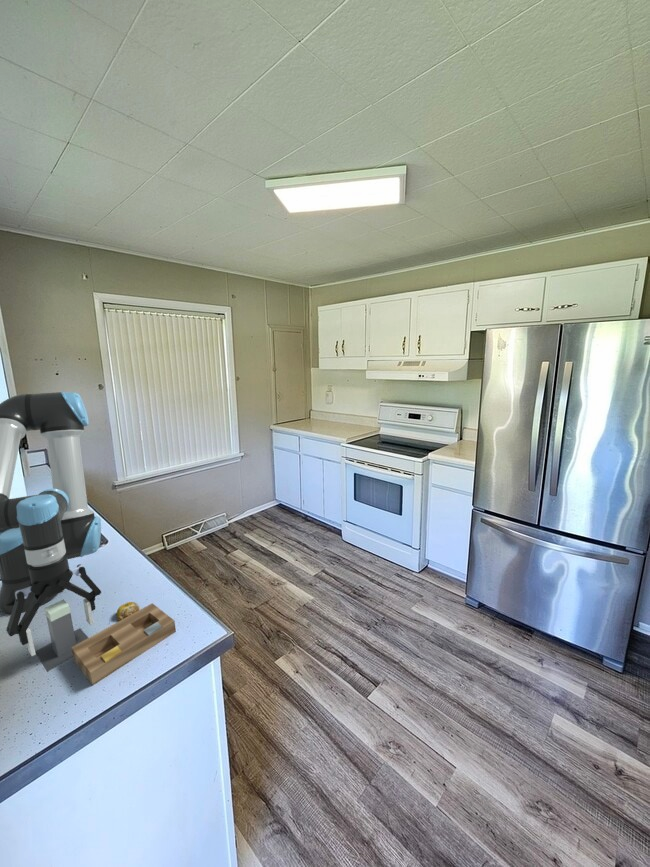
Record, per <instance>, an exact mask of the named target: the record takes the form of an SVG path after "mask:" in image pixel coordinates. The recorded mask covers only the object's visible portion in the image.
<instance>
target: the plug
mask: <svg viewBox="0 0 650 867" xmlns="http://www.w3.org/2000/svg"><path fill="white" fill-rule="evenodd" d="M70 607H71V606H70V605H69V604H68V602H66V600H65V599H61V600H59V601H57V602H54V603H53V604H51V605H48V606H47V607H44V611H45V616H46V621H47V626H48V632H49V636H50V641H51V642H50V643H52V647H53V650H54V652H55V653H56V654H57V656H58V657H59V656H61V655H63V654H65V653H67V652H68V651H70V650H72V649H71V647H73V646H75V645H76V639H75V634H74V631H75V629H74V624H73V619H72V615H71V614H72V613H71V608H70Z"/></svg>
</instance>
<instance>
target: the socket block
mask: <svg viewBox="0 0 650 867" xmlns="http://www.w3.org/2000/svg"><path fill="white" fill-rule="evenodd" d="M176 632H177V631H176V622H175V619H173V618H172V617H170V615H169V614H167V613H165V612H164V611H163V610H161V609H160V608H159V607H158V606H157V605H155V604H154V603H150V604H148V605H146V606H144V607H143V608H141V609H139V611H137V612H135V613H133V614H132V615H130V616H128V617H126V618H124V619H122V620H121V621H120V620H118V621H117V622H115V623H114V624H112V625H110V626H108V627H106V628H104V629H103V630H101V631H99V632H97V633H95V634H94V635H92V636H89V637H88V639H86V640H84V641H82V642H81V643H79V644H77V645H75V646H73V647H71V649H72V654H73V658H72V659H73V662H75V664H76V665H77V667H78V668H79V669H80V671H81V672H82V674H84V676H85V677H86V678H87V681H89V682H90V684H91V685H92V686H95V685H96V684H98V683H99V682H101V681H102V680H103V679H105V678H107V677H108V676H110V675H112V674H113V673H115V672H117V671H118V670H119V669H121V668H122V667H124V666H126V665H127V664H129V663H131V662H132V661H133V660H134V659H136V658H138V657H139V656H141V655H143V654H144V653H145V652H147V651H149V650H151V649H152V648H153V647H155V646H157V645H158V644H160V643H161V642H163V641H164V640H165V639H168V638H169V637H170V636H172V635H173V634H175V633H176Z"/></svg>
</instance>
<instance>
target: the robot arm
mask: <svg viewBox="0 0 650 867" xmlns="http://www.w3.org/2000/svg"><path fill="white" fill-rule="evenodd" d="M89 425H90V422H89V416H88V413H87V408H86V406H85V403H84V401H83V398H82V397H81V395H80V394H79V393H78V392H70V391H69V392H67V391H65V392H64V391H60V392H59V391H58V392H57V391H56V392H45V393H44V392H43V393H22V394H18V395H14V396H11V397H9V398H6V399H5V400H4V401H1V403H0V532H2V531H4V532H2V533H0V580H1V587H0V612H1V613H3V614H6V613H7V614H8V615H10V616H9V620H8V624H7V626H6V630H5V631H6V633H7V634H8V636H9V637H13V636H14V635H18V637H19V642H20V644H21V645H22V646H25V645H26V646H27V649H28V650H27V651H28V653H29V654H30V656H31V657H34V656H37V654H36V653H35V651H36V650H35V645H34V640H33V636H32V631H31V629H30V624H31V623H32V621H33V619H34V618H35V616H36V614H37V612H38V610H39V608H40V607H41V606H42V605H43V606H44V605H45V604H47V603H48V602H50V601H51V600H53V599H54V598H56V597H57V596H58V595H59V594H60V593H61V594H62V593H63V592H64V591H65V590H67V591H69V592H73V593H74V594H76V595H78V596H80V597H82V598H84V599H82V603H83V608H84V614H85V620H86V622H87V624H88V625H89V626H92V625H94V624H95V622H94V617H93V613H92V612H93V611H95V610H96V603H95V601H96V597H97V596H100V595H101V594H102V590H101V589H100V588H99V587H98V586H97V585H96V583H95V582H94V581H93V580H92V579H91V577H90V576H89V575H88V574H87V571H86V568H85V567H84V566H83V565H82V564H80V563H79V564H78V565H76V566H75V568H72V569H70V566H69V565H70V564H69V561H68V560H71V559H75V558H83V557H85V556H88V555H89V556H90V555H93V554H95V553H96V552H97V551H98V550H99V548H100V543H101V537H102V536H101V534H102V524H101V517H100V516H95V511H94V510H92V509H90V508H89V506H88V498H87V496H88V495H87V488H86V481H85V472H84V465H83V457H82V456H83V453H82V447H81V440H80V439H81V436H82V435H83V433H84V432H85V427H88V426H89ZM29 431H40V436H42V437H43V438H45V439H46V440H47V449H48V458H49V465H50V474H51V475H50V476H51V484H52V488H48V489H47V488H46V489H45V490H43V491H41V492H40V493H39V494H33V495H27V496H20V497H14V498H10V496H11V491H12V485H13V481H14V475H15V469H16V463H17V460H18V453H19V449H20V444H21V443H20V442H21V440H22V439H23V438H25V436H26V434H27V432H29ZM73 575H75V576H76V577H79V578H81V579H82V581H83V582H84V583H85V584H86V585H87V587H89V589H90V590H91V591H90V592H89V591H87V590H85V589H84V588H81V587H79V586H78V585H76V584H74V583H72V582H71V581H70V580H72V577H73ZM22 613H24V614H23V616H22ZM7 614H6V615H7ZM21 616H22V617H21Z"/></svg>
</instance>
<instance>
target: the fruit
mask: <svg viewBox="0 0 650 867" xmlns="http://www.w3.org/2000/svg"><path fill="white" fill-rule="evenodd" d="M139 610H140V606H139V605H138V603H136V602H135V601H129V602H126V603H123V604H121V605H120V606H119V607H118V609H117V611H116V619H117V620H118V621H121V620H122V619H124V618H126V617H128V616H130V615H132V614H133V613H135V612H137V611H139Z"/></svg>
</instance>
